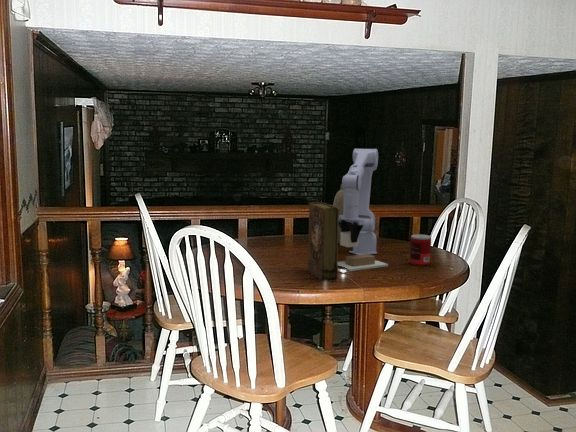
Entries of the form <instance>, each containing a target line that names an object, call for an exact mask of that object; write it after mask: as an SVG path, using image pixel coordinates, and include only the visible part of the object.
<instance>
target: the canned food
mask: <svg viewBox="0 0 576 432" xmlns="http://www.w3.org/2000/svg"><path fill="white" fill-rule="evenodd" d="M431 251H432V236H431V235H428V234H412V235H411V236H410V250H409V252H410V253H409V263H410V264H411V265H412V266H416V265H417V266H418V267H425V265H427V266H430V263H431V255H432V253H431Z"/></svg>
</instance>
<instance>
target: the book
mask: <svg viewBox="0 0 576 432" xmlns="http://www.w3.org/2000/svg"><path fill="white" fill-rule="evenodd" d="M338 227H339V208H338V207H335V206H333V205H332V204H329V203H325V202H321V201H320V202H317V201H316V202H309V210H308V253H307V256H308V258H307V260H308V263H307V265H308V266H307V271H308V272H309V273H310V274H312V275H314V276H315V277H316V278H318V279H319V280H321V281H324V280H337V279H338V268H339V267H338V262H339V243H338Z"/></svg>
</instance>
